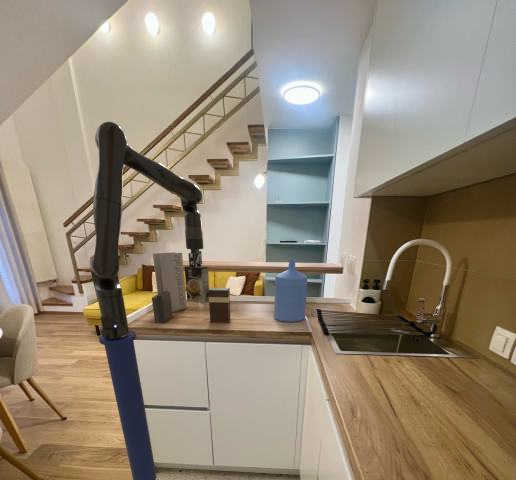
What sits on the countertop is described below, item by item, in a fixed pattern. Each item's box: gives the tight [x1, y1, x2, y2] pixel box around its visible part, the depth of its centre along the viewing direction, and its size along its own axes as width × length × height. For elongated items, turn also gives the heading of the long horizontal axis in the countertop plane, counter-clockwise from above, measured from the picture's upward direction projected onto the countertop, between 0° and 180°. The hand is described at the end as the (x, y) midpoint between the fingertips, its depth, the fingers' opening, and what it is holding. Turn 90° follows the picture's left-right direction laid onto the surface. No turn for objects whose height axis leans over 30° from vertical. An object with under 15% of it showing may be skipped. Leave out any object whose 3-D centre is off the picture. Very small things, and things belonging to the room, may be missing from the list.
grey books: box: [151, 291, 173, 324], centre depth 135 cm, size 11×5×13 cm, turn 178°
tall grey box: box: [152, 252, 188, 313], centre depth 148 cm, size 14×6×30 cm, turn 147°
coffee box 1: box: [183, 265, 210, 304], centre depth 130 cm, size 9×6×16 cm
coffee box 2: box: [208, 287, 231, 324], centre depth 133 cm, size 6×9×16 cm
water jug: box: [273, 260, 308, 323], centre depth 136 cm, size 16×16×28 cm
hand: (196, 275), depth 129 cm, fingers closed on coffee box 1, 7 cm apart
